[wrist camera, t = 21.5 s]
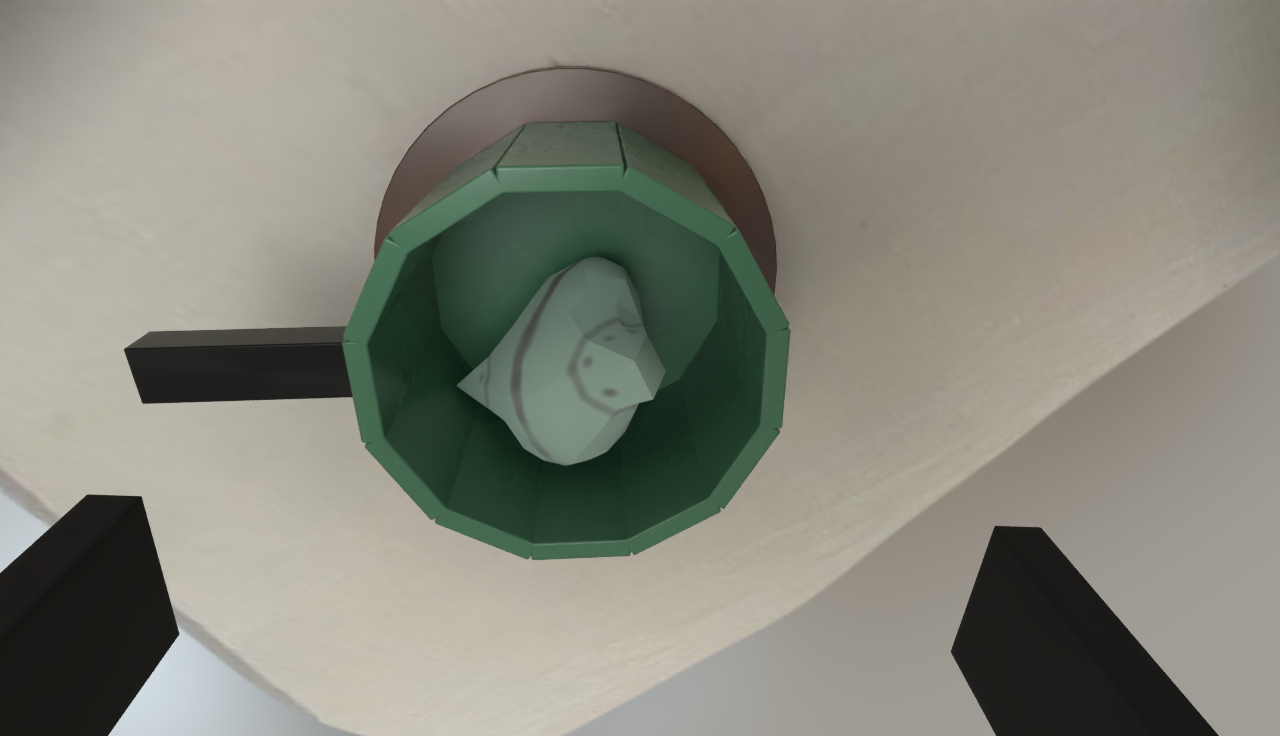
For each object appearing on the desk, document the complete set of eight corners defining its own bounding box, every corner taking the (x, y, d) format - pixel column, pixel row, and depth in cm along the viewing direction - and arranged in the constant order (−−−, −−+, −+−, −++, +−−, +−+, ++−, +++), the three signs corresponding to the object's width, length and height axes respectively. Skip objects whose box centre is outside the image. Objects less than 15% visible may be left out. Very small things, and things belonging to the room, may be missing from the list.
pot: (202, 127, 22) (13, 174, 15) (740, 119, 23) (806, 160, 16) (279, 429, 27) (163, 577, 20) (725, 414, 28) (771, 551, 20)
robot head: (659, 195, 19) (594, 426, 17) (742, 274, 22) (697, 485, 19) (485, 254, 25) (415, 436, 22) (568, 312, 27) (514, 481, 25)
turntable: (799, 82, 24) (807, 84, 23) (744, 446, 30) (748, 459, 29) (364, 49, 23) (354, 50, 22) (396, 434, 28) (389, 447, 28)
